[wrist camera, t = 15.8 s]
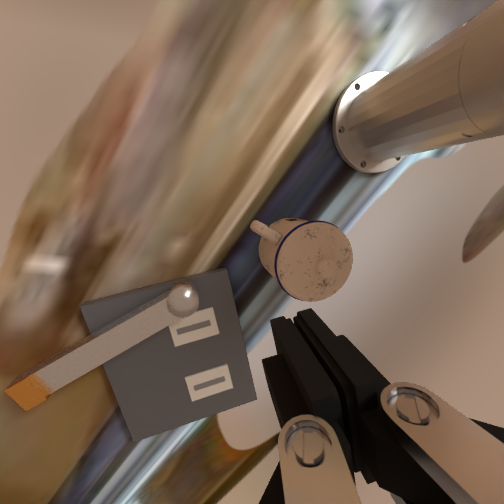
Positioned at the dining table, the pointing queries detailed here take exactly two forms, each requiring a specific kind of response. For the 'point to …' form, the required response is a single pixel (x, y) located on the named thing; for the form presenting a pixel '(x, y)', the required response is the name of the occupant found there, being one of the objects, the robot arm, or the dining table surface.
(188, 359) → the tray
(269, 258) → the teacup with lid
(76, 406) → the dining table surface
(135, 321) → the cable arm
